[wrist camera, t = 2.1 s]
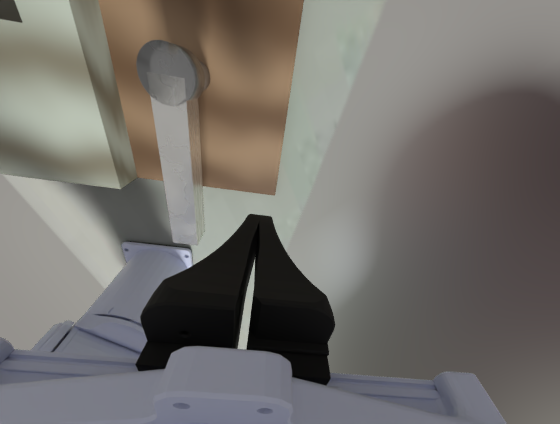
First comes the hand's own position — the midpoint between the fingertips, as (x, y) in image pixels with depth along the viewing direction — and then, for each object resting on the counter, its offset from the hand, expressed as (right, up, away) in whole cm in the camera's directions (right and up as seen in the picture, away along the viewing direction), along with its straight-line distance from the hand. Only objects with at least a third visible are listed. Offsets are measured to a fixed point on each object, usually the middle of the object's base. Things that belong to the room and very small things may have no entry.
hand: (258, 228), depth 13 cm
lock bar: (-6, +5, +3) cm, 8 cm away
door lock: (-9, +11, +4) cm, 15 cm away
